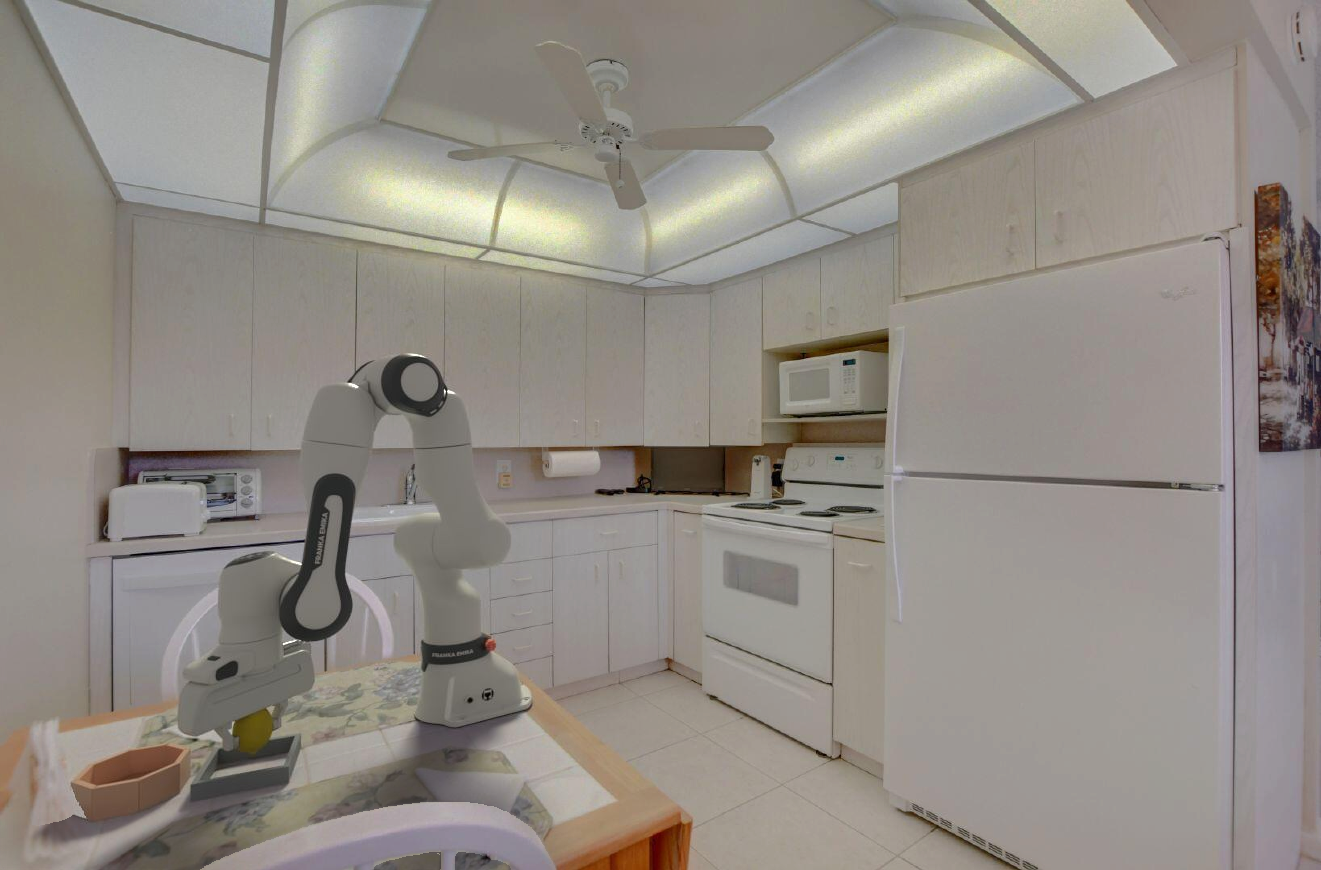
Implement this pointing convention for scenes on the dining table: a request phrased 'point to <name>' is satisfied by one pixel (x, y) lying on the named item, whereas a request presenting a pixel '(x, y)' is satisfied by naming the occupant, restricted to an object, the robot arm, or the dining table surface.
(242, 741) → the lemon
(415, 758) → the dining table surface
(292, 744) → the tray
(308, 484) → the robot arm
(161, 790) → the bowl
